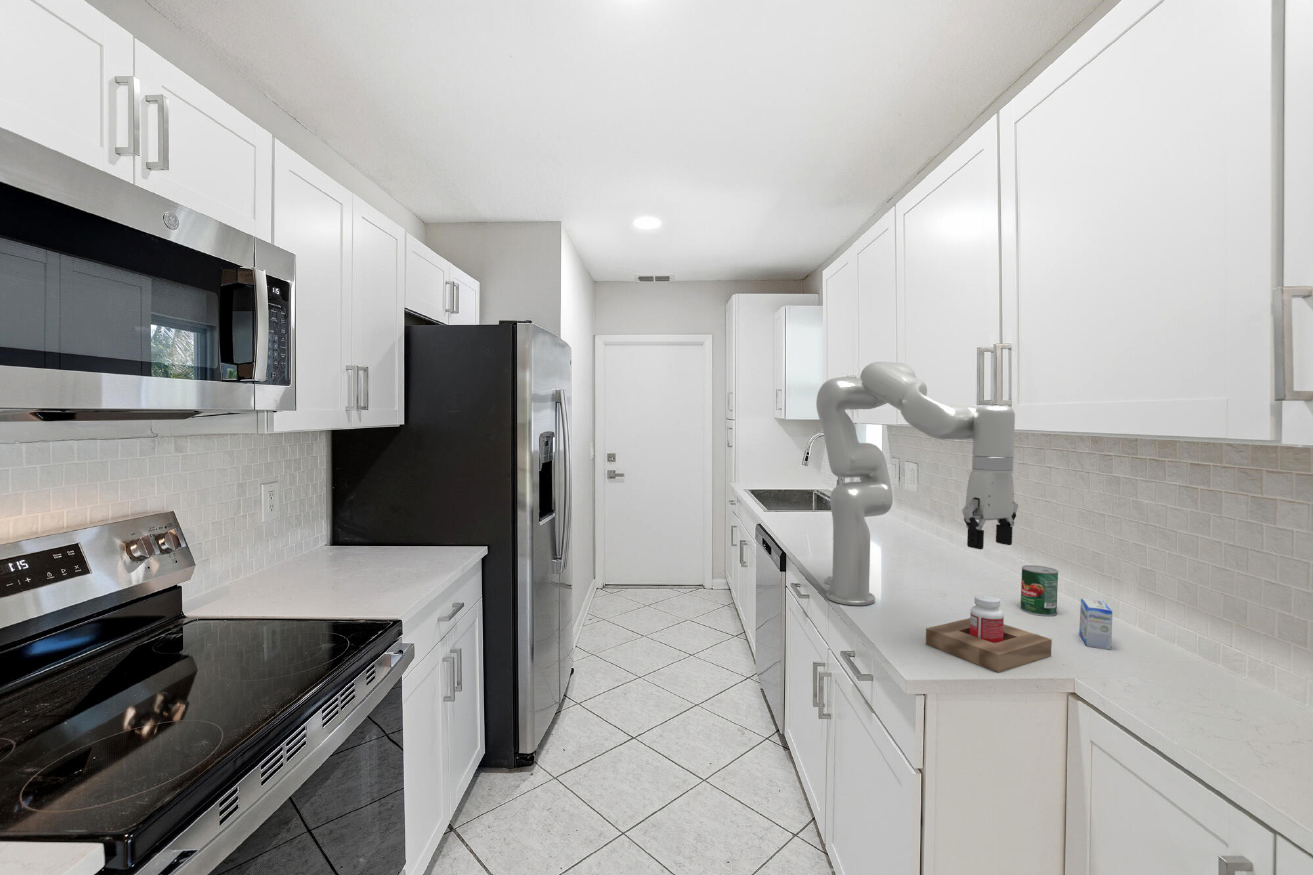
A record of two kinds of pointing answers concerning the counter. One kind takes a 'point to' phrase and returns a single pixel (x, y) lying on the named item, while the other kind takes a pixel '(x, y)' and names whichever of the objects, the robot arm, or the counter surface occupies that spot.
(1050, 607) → the canned tomato
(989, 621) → the pill bottle
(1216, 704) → the counter surface
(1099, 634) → the medicine box
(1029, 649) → the walnut frame
